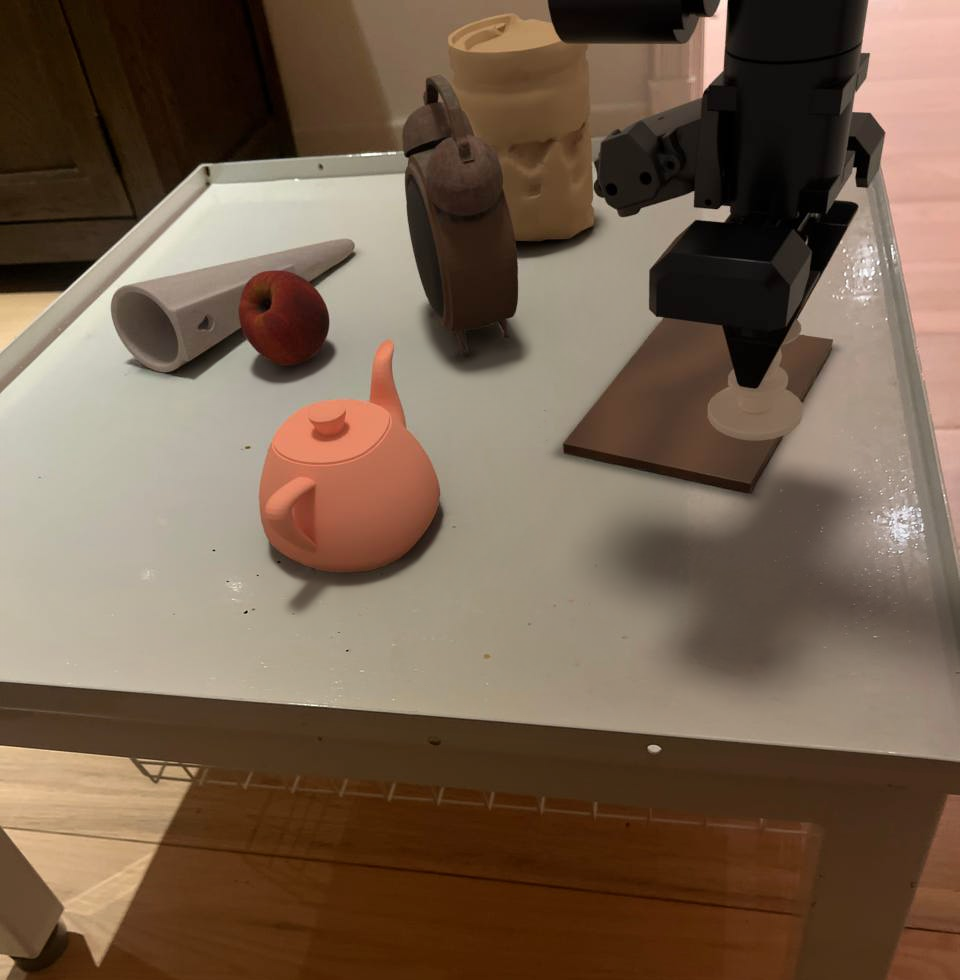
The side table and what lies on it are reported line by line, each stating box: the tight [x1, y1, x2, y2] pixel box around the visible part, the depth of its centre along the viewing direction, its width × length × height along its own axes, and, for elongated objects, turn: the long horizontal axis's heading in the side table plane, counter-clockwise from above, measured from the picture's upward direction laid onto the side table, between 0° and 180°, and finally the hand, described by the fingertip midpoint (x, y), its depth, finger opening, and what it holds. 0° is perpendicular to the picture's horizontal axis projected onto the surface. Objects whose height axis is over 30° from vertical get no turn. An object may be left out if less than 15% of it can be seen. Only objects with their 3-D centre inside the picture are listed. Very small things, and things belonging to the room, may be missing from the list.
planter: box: [110, 238, 356, 373], centre depth 93 cm, size 8×9×26 cm
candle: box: [707, 319, 804, 441], centre depth 51 cm, size 5×5×10 cm
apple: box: [239, 270, 330, 366], centre depth 83 cm, size 7×8×8 cm
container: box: [447, 12, 595, 242], centre depth 92 cm, size 13×13×18 cm
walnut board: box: [562, 317, 834, 494], centre depth 73 cm, size 14×20×1 cm
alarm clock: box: [401, 74, 519, 357], centre depth 78 cm, size 15×7×20 cm, turn 15°
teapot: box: [258, 339, 441, 573], centre depth 65 cm, size 12×18×10 cm
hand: (759, 367), depth 52 cm, fingers closed on candle, 4 cm apart
